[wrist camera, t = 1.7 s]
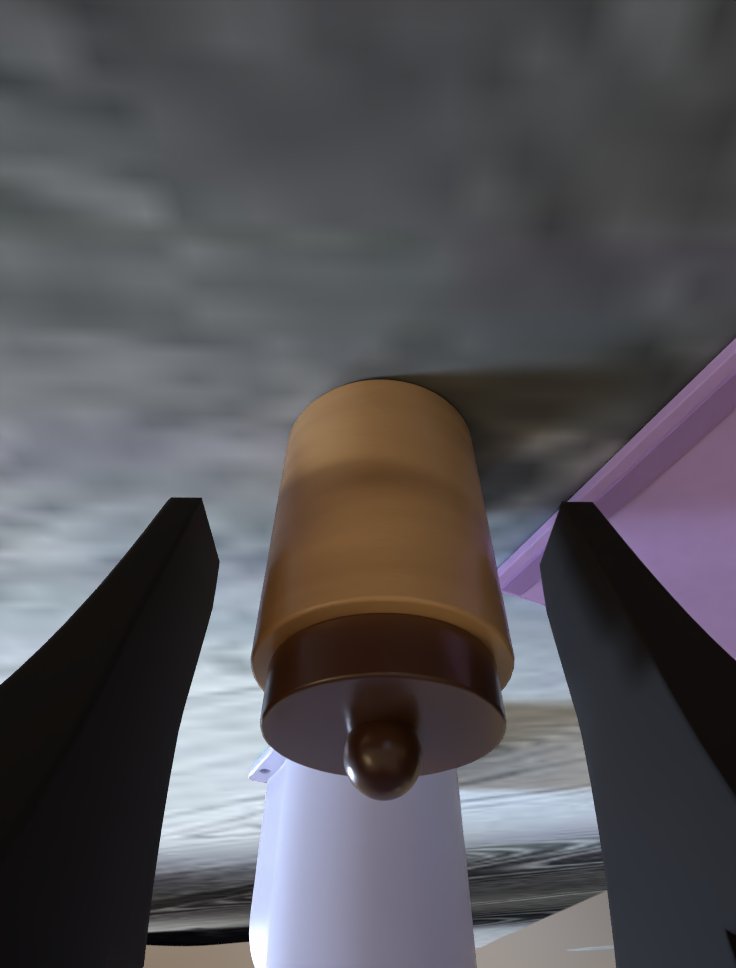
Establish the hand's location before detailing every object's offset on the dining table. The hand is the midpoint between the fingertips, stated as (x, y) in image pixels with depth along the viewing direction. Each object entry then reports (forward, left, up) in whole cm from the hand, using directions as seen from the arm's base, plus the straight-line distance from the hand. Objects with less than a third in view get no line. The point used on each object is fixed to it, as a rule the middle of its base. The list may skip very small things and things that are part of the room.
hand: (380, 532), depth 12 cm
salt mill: (0, 0, -3) cm, 3 cm away
